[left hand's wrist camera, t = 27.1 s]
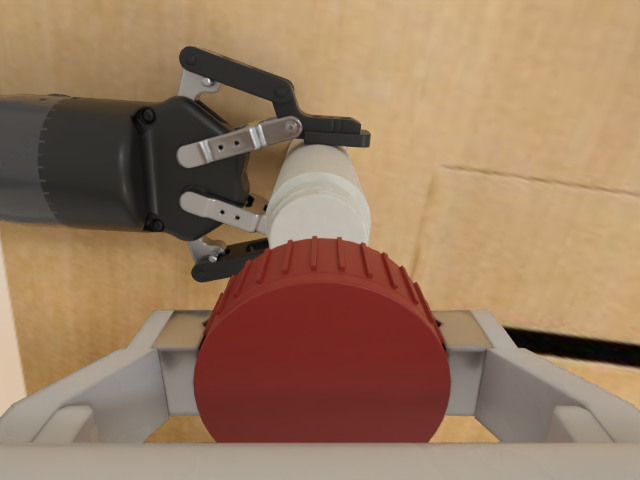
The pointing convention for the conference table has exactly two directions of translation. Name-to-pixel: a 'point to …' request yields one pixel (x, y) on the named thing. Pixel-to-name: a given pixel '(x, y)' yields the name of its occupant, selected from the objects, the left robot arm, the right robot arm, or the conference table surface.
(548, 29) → the conference table surface
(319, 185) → the white bottle
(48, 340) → the conference table surface
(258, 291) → the lid
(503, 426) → the left robot arm
